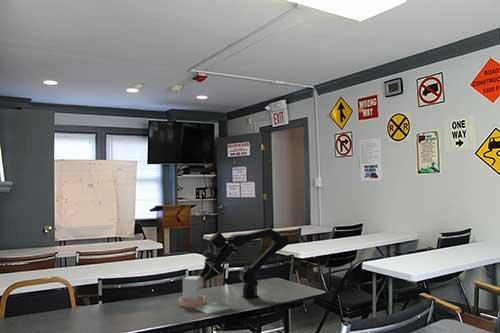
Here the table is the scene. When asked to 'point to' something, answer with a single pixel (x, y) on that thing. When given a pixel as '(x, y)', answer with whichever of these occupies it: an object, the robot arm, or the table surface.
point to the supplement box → (192, 288)
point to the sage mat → (211, 308)
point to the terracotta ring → (192, 302)
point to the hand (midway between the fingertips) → (202, 278)
